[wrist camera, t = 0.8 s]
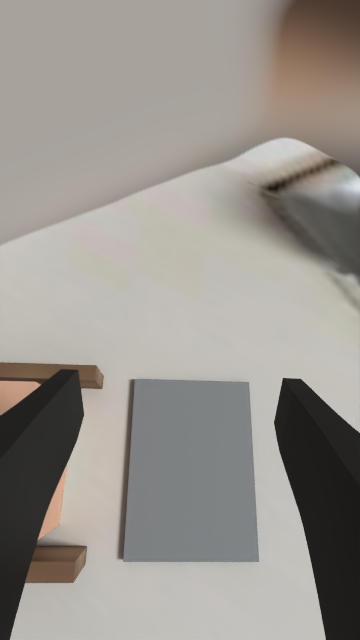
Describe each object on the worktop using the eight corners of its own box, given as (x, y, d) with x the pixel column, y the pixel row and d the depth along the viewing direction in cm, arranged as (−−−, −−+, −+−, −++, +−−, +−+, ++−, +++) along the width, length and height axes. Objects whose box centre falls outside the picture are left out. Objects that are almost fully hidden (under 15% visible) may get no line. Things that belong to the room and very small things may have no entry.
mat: (257, 560, 23) (258, 561, 23) (123, 559, 23) (123, 561, 23) (247, 383, 28) (248, 382, 27) (135, 379, 27) (134, 379, 27)
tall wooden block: (59, 524, 23) (4, 564, 15) (14, 524, 23) (-66, 564, 15) (74, 404, 26) (35, 381, 18) (34, 403, 26) (-24, 380, 18)
